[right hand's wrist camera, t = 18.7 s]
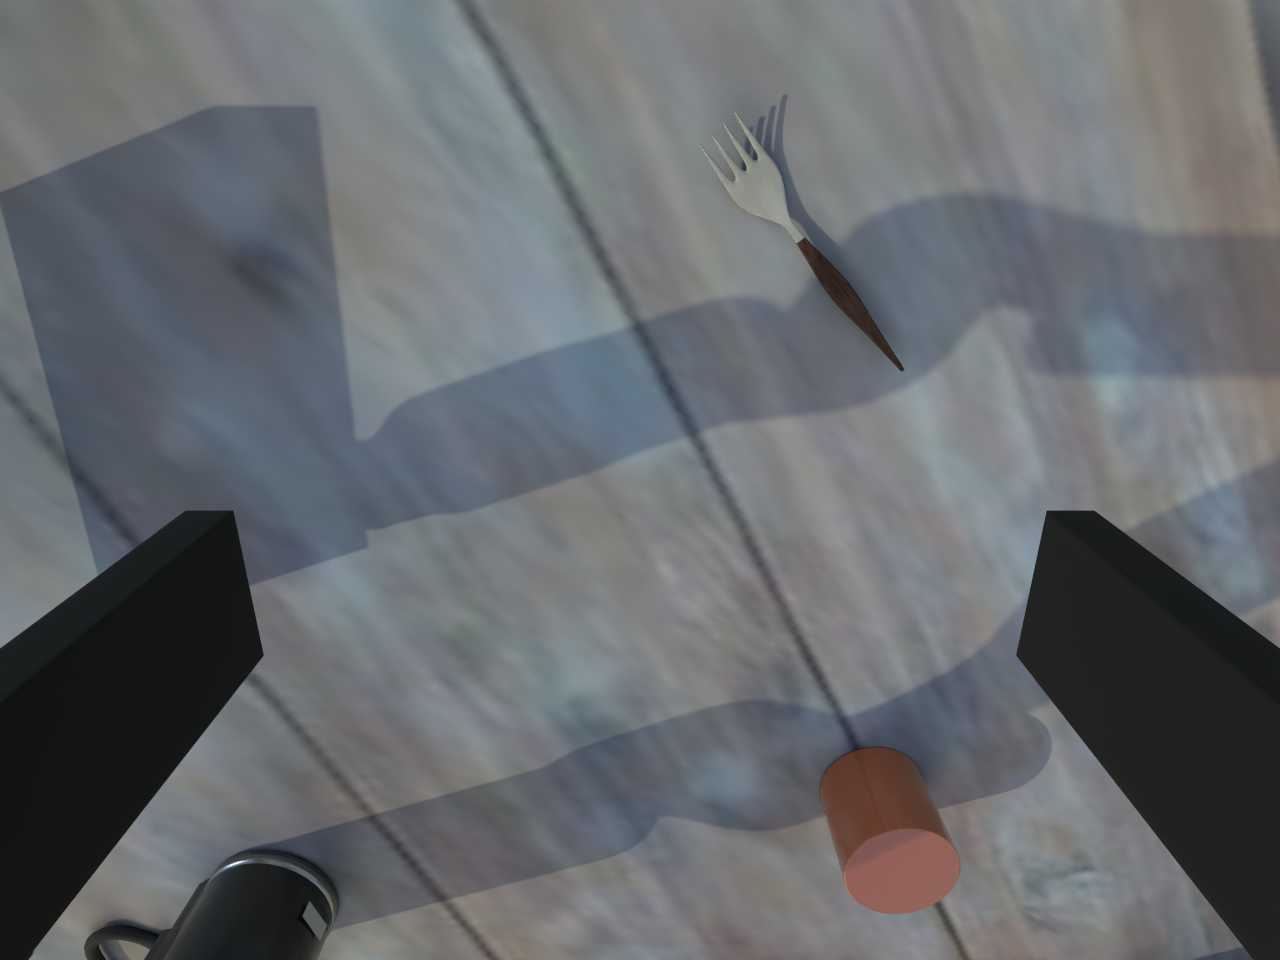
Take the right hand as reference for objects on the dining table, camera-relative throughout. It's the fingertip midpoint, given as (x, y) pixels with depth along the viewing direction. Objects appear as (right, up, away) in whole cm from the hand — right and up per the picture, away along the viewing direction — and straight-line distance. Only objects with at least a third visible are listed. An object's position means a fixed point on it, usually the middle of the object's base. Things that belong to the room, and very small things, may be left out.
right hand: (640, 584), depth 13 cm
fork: (+9, +13, +28) cm, 32 cm away
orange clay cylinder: (+16, -20, +41) cm, 48 cm away
